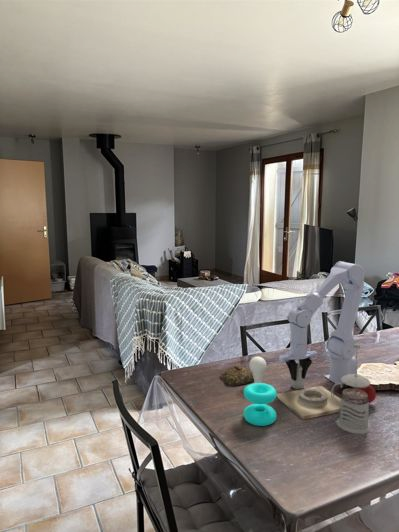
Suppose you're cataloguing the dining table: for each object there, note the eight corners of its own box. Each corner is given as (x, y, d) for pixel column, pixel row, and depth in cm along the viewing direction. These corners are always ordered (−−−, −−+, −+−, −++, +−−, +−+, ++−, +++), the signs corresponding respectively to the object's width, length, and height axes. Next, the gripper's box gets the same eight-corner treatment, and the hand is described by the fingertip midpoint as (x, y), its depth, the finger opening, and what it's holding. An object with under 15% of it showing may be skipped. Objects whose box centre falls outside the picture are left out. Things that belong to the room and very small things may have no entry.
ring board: (321, 388, 144) (321, 380, 144) (351, 409, 129) (351, 400, 129) (276, 396, 138) (276, 388, 138) (302, 419, 123) (303, 410, 123)
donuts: (236, 386, 124) (261, 378, 130) (237, 416, 126) (261, 408, 131) (258, 398, 116) (283, 390, 121) (258, 431, 117) (283, 421, 123)
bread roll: (259, 383, 150) (259, 370, 150) (228, 388, 146) (228, 375, 145) (243, 370, 162) (243, 358, 162) (215, 375, 158) (215, 363, 157)
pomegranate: (374, 401, 134) (375, 378, 133) (375, 409, 129) (377, 385, 127) (355, 398, 136) (356, 376, 135) (356, 406, 131) (357, 383, 129)
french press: (368, 437, 113) (372, 351, 110) (326, 426, 120) (329, 344, 116) (374, 421, 122) (378, 341, 118) (334, 411, 128) (337, 335, 124)
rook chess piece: (289, 384, 148) (290, 363, 146) (301, 384, 148) (302, 363, 147) (293, 390, 143) (294, 368, 142) (306, 389, 144) (306, 368, 142)
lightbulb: (265, 390, 143) (266, 360, 142) (248, 389, 145) (248, 359, 143) (266, 383, 149) (266, 354, 148) (250, 381, 151) (250, 353, 149)
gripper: (309, 336, 149) (308, 371, 151) (274, 341, 145) (274, 377, 147) (321, 342, 143) (320, 378, 145) (285, 347, 138) (284, 385, 140)
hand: (298, 378), depth 145 cm, fingers closed on rook chess piece, 3 cm apart
